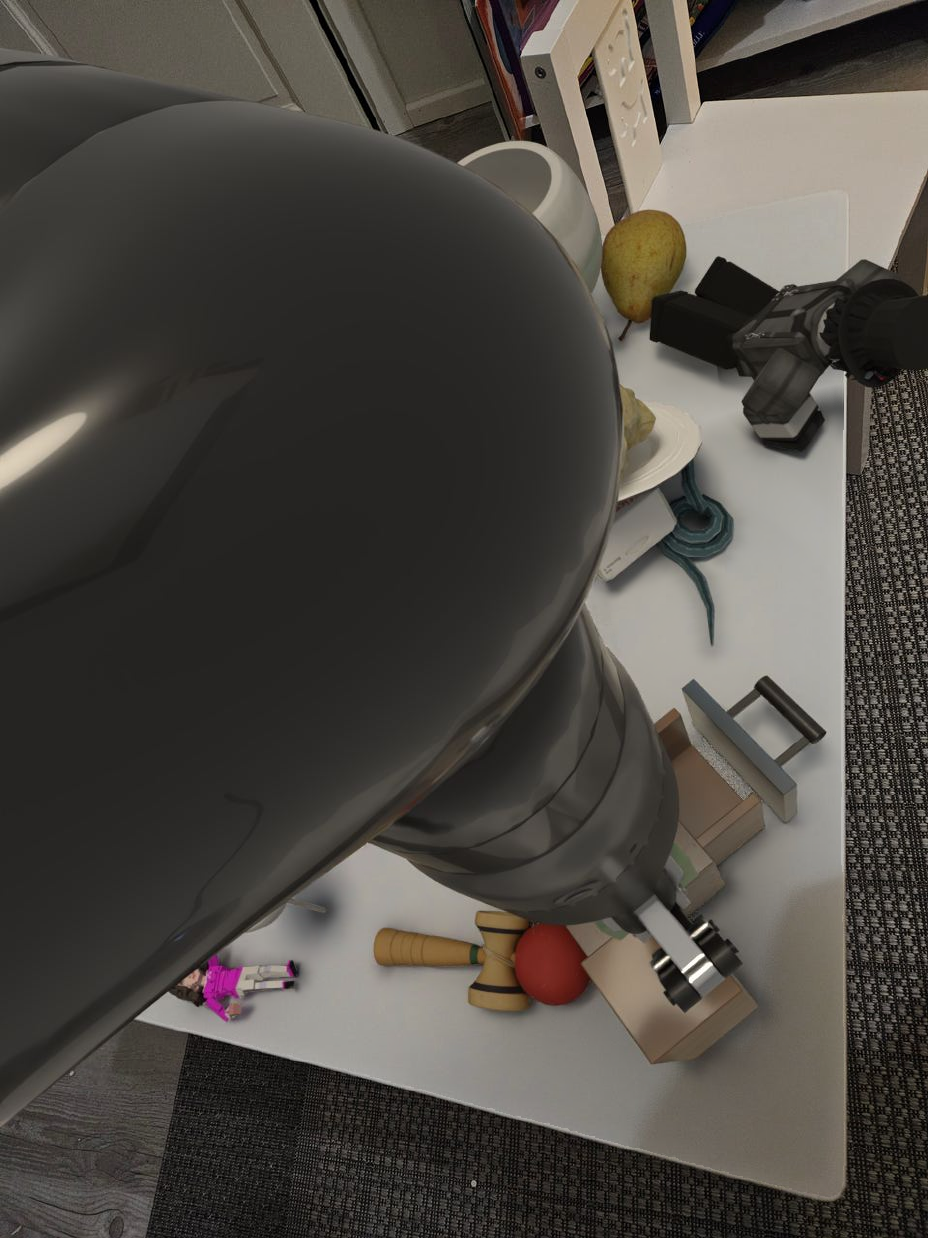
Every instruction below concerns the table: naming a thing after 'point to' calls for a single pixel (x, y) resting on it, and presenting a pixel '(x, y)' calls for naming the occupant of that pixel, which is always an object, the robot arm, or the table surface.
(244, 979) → the character figurine
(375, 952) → the kendama
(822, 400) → the table surface
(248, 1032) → the table surface
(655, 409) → the plate
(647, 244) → the fruit
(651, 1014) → the stand
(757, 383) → the toy
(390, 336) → the robot arm
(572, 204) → the planter
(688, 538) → the stylized snake
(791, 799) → the drawer
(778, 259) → the table surface
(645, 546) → the ink box
